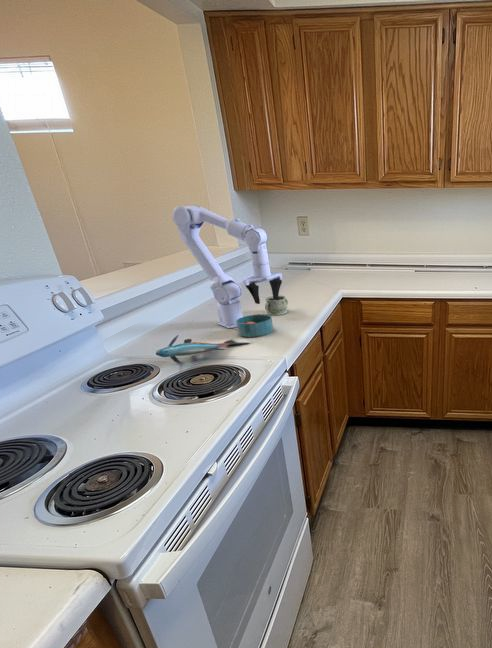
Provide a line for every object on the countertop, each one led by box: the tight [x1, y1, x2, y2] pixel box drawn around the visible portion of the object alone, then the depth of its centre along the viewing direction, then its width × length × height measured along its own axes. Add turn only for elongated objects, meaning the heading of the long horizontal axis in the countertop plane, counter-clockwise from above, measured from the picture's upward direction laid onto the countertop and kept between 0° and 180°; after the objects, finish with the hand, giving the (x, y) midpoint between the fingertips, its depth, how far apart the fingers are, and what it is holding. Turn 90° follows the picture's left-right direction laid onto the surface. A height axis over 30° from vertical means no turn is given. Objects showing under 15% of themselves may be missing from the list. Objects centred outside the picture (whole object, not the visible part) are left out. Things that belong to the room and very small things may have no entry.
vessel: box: [264, 295, 289, 316], centre depth 173 cm, size 12×9×6 cm
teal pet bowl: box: [236, 313, 274, 338], centre depth 150 cm, size 12×12×5 cm
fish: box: [155, 334, 247, 364], centre depth 129 cm, size 30×8×15 cm
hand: (266, 301), depth 154 cm, fingers open, 7 cm apart
